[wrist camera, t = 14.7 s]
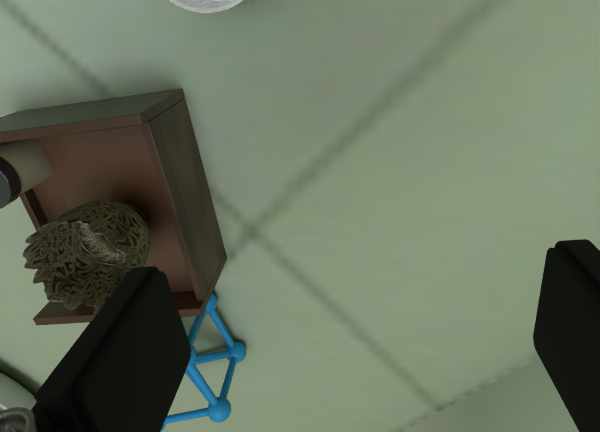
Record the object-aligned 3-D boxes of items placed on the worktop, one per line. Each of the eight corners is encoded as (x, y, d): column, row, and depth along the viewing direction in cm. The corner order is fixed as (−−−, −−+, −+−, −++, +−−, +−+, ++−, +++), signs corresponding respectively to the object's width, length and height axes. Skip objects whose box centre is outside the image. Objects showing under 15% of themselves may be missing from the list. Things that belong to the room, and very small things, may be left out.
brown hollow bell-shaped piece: (85, 242, 37) (24, 301, 30) (85, 166, 33) (16, 211, 26) (168, 263, 37) (128, 326, 30) (177, 189, 34) (133, 241, 26)
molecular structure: (214, 284, 46) (184, 353, 37) (250, 349, 50) (232, 425, 41) (137, 305, 48) (92, 375, 39) (178, 366, 52) (146, 441, 43)
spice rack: (18, 111, 38) (-66, 140, 31) (182, 88, 36) (138, 113, 28) (88, 269, 46) (36, 325, 38) (227, 258, 44) (202, 315, 36)
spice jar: (11, 131, 36) (-59, 160, 30) (55, 126, 36) (-6, 153, 29) (32, 176, 38) (-29, 212, 32) (74, 171, 37) (20, 207, 31)
